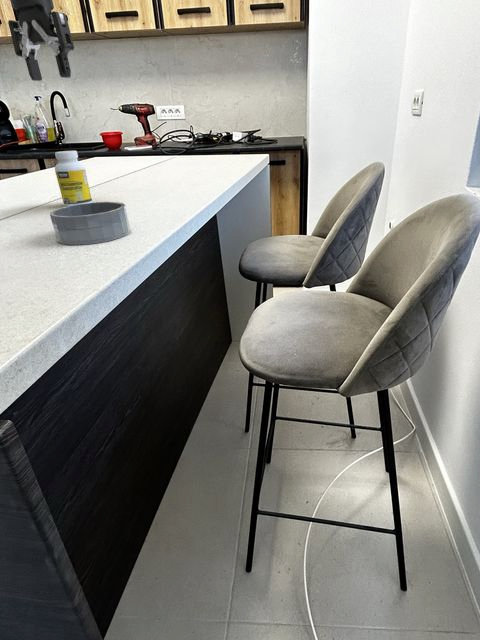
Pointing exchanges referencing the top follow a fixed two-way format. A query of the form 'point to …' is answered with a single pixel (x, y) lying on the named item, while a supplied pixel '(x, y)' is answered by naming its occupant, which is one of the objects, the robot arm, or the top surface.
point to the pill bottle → (72, 179)
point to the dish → (90, 223)
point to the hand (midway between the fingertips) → (51, 79)
